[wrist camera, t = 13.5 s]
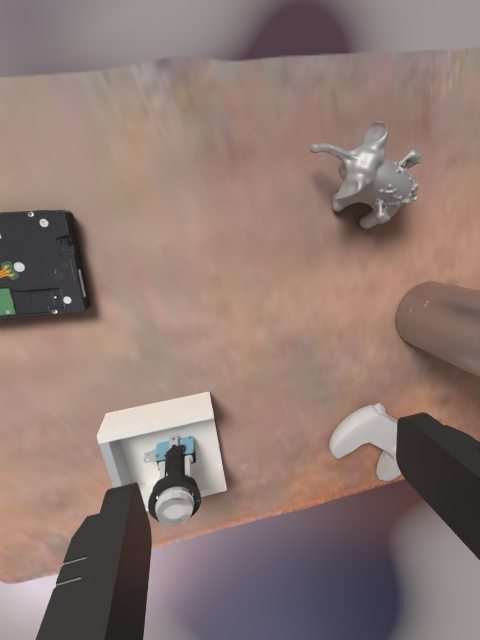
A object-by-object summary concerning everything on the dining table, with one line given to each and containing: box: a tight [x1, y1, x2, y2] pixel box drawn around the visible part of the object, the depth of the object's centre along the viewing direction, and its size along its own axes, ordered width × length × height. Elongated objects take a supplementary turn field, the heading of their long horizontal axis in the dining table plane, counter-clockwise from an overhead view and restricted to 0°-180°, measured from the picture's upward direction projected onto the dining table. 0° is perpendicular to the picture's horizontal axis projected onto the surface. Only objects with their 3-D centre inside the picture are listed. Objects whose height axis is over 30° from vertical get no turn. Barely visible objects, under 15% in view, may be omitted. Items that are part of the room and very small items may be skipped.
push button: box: [143, 436, 201, 526], centre depth 34 cm, size 7×5×10 cm
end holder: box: [97, 392, 227, 511], centre depth 38 cm, size 13×12×4 cm
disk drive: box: [0, 210, 90, 319], centre depth 30 cm, size 10×3×15 cm
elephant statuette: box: [310, 121, 421, 229], centre depth 31 cm, size 9×12×8 cm
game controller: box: [329, 403, 402, 481], centre depth 45 cm, size 14×4×10 cm
